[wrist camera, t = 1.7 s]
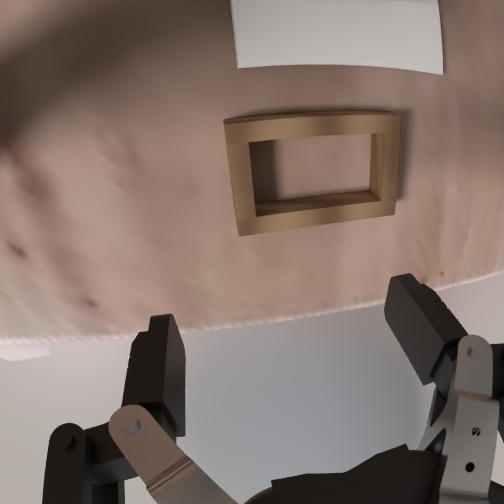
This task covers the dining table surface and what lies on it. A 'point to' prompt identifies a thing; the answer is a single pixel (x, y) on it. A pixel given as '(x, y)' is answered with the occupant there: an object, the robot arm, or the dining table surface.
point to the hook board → (338, 33)
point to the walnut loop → (319, 207)
